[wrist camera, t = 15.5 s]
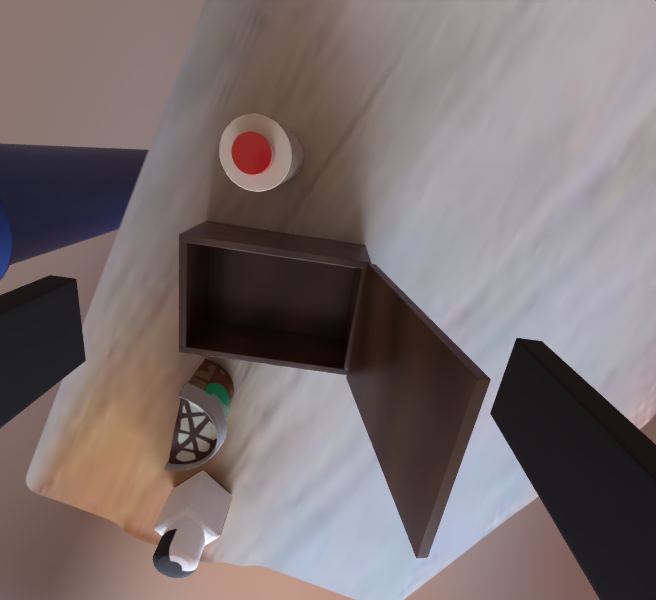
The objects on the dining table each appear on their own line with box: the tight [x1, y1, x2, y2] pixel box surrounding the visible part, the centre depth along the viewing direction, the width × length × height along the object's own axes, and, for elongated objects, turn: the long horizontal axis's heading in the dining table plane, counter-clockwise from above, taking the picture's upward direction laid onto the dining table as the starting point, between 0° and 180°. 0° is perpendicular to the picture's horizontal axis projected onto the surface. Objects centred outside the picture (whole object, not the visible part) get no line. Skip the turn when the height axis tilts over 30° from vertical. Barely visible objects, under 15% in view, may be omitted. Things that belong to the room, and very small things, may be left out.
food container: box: [164, 359, 234, 471], centre depth 49 cm, size 12×6×10 cm, turn 163°
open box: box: [179, 221, 371, 375], centre depth 44 cm, size 20×14×8 cm
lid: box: [346, 264, 491, 558], centre depth 31 cm, size 20×14×1 cm
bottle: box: [219, 113, 304, 192], centre depth 36 cm, size 6×6×14 cm
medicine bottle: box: [153, 471, 232, 578], centre depth 55 cm, size 7×7×12 cm
